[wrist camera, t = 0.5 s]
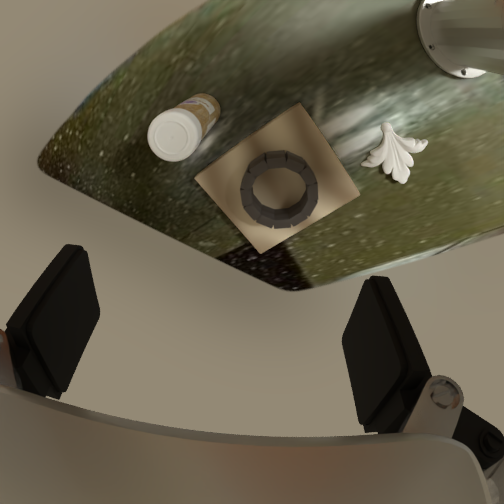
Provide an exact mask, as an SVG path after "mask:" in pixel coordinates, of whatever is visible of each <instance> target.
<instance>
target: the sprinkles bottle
mask: <svg viewBox="0 0 504 504" xmlns="http://www.w3.org/2000/svg"><path fill="white" fill-rule="evenodd" d="M219 116H220V105H219V103H218V102H217V100H216V99H215V98H214V97H212V96H210V95H208V94H203V93H202V94H196V95H194V96H192V97H191V98H190V99H188V100H186V101H184V102H182V103H181V104H179V105H178V106H176V107H175V108H173V109H169V110H167V111H164V112H163V113H161V114H160V115H158V116H157V117H156V118H155V119H154V120H153V121H152V122H151V124H150V126H149V129H148V136H147V137H148V143H149V146H150V148H151V150H152V151H153V152H154V153H155V154H156V155H157V156H158V157H160V158H161V159H163V160H166V161H173V162H175V161H181V160H183V159H185V158H187V157H189V156H190V155H191V154H192V153H193V152H194V151H195V150H196V148H197V147H198V146H199V144H200V141H201V140H202V139H203V138H204V136H205V135H206V134H207V133H208V131H209V130H210V129H211V128H212V126H213V125H214V124H215V123H216V122H217V121H218V119H219Z"/></svg>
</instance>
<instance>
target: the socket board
mask: <svg viewBox="0 0 504 504" xmlns="http://www.w3.org/2000/svg"><path fill="white" fill-rule="evenodd" d="M194 179H195V180H196V181H197V182H198V183H199V184H200V186H201V187H202V188H203V189H204V190H205V191H206V192H207V193H208V195H209V196H210V197H211V198H212V199H213V200H214V201H215V203H216V204H217V205H218V206H219V207H220V208H221V209H222V211H223V212H224V213H225V214H226V215H227V216H228V217H229V219H230V220H231V221H232V222H233V223H234V224H235V225H236V227H237V228H238V229H239V230H240V231H241V232H242V233H243V235H244V236H245V237H246V238H247V239H248V240H249V241H250V243H251V244H252V245H253V246H254V247H255V248H256V249H257V251H258V252H259V253H260V254H261V253H263V252H265V251H266V250H268V249H270V248H271V247H273V246H275V245H277V244H278V243H280V242H282V241H283V240H285V239H287V238H288V237H290V236H292V235H294V234H295V233H297V232H299V231H300V230H302V229H304V228H305V227H307V226H309V225H311V224H312V223H314V222H316V221H317V220H319V219H321V218H322V217H324V216H326V215H327V214H329V213H331V212H333V211H334V210H336V209H338V208H339V207H341V206H343V205H344V204H346V203H348V202H349V201H351V200H353V199H354V198H356V197H358V196H360V193H359V191H358V189H357V188H356V186H355V185H354V183H353V181H352V180H351V178H350V176H349V175H348V173H347V172H346V170H345V168H344V167H343V165H342V164H341V162H340V160H339V159H338V157H337V156H336V154H335V153H334V151H333V150H332V148H331V147H330V145H329V144H328V142H327V141H326V139H325V138H324V136H323V135H322V133H321V132H320V130H319V129H318V127H317V126H316V124H315V123H314V121H313V120H312V119H311V117H310V116H309V114H308V113H307V112H306V110H305V109H304V107H303V106H302V105H301V103H300V102H298V103H297V104H295V105H294V106H292V107H291V108H289V109H288V110H286V111H285V112H283V113H282V114H280V115H279V116H277V117H276V118H274V119H273V120H271V121H270V122H268V123H267V124H265V125H264V126H262V127H261V128H260V129H258V130H257V131H255V132H254V133H252V134H251V135H249V136H248V137H247V138H245V139H244V140H242V141H241V142H240V143H238V144H237V145H235V146H234V147H233V148H231V149H230V150H228V151H227V152H226V153H224V154H223V155H222V156H220V157H219V158H218V159H216V160H215V161H214V162H212V163H211V164H210V165H208V166H207V167H206V168H204V169H203V170H202V171H200V172H199V173H198V174H197V175H196V176H195V178H194Z"/></svg>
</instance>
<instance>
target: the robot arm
mask: <svg viewBox="0 0 504 504" xmlns="http://www.w3.org/2000/svg"><path fill="white" fill-rule="evenodd" d="M425 6H426V7H427V8H426V7H425ZM417 30H418V35H419V38H420V41H421V43H422V45H423V47H424V49H425V51H426V53H427V54H428V55H429V57H430V58H431V59H432V61H433V62H434V63H435V64H436V65H437V66H438V67H440V68H441V69H442V70H444V71H445V72H447V73H449V74H451V75H454V76H457V77H461V78H475V77H479V76H481V75H483V74H484V73H485V72H492V73H496V74H501V75H504V0H422V1H421V3H420V5H419V7H418V11H417ZM429 45H430V48H429ZM461 71H462V72H461ZM99 317H100V307H99V303H98V299H97V295H96V291H95V286H94V282H93V278H92V273H91V269H90V263H89V258H88V253H87V251H85V250H84V249H83V247H82V246H79V245H71V244H66V245H65V246H64V247H63V248H62V249H61V251H60V252H59V253H58V254H57V255H56V257H55V258H54V259H53V260H52V262H51V263H50V264H49V265H48V267H47V268H46V270H45V271H44V272H43V273H42V274H41V276H40V277H39V278H38V280H37V281H36V282H35V284H34V285H33V286H32V288H31V289H30V291H29V292H28V293H27V295H26V296H25V298H24V299H23V300H22V302H21V303H20V304H19V306H18V307H17V309H16V310H15V312H14V313H13V315H12V316H11V318H10V319H9V321H8V322H7V324H6V326H7V329H6V330H5V332H4V331H3V330H1V329H0V504H504V436H503V434H502V433H501V432H500V430H498V429H497V428H496V427H495V426H493V425H492V424H490V423H489V422H487V421H485V420H484V419H482V418H481V417H479V416H478V415H476V414H475V413H473V412H472V411H470V410H469V409H467V408H466V407H464V406H463V402H464V397H463V392H462V390H461V388H460V387H459V385H458V384H457V383H456V382H455V381H453V380H452V379H451V378H449V377H446V376H441V375H437V376H433V377H432V375H431V372H430V369H429V366H428V364H427V361H426V359H425V356H424V354H423V352H422V349H421V347H420V344H419V342H418V340H417V338H416V335H415V333H414V331H413V328H412V326H411V324H410V322H409V319H408V317H407V315H406V313H405V311H404V309H403V306H402V304H401V302H400V300H399V298H398V296H397V294H396V292H395V289H394V287H393V285H392V283H391V281H390V279H389V278H388V277H383V276H371V277H370V278H369V280H368V279H367V280H365V281H364V284H363V286H362V289H361V291H360V294H359V297H358V299H357V301H356V304H355V307H354V309H353V312H352V314H351V317H350V319H349V321H348V324H347V326H346V328H345V331H344V333H343V337H342V345H343V350H344V355H345V359H346V364H347V368H348V372H349V377H350V382H351V387H352V391H353V396H354V401H355V406H356V411H357V416H358V421H359V423H360V424H361V425H363V426H364V430H365V433H369V432H378V434H374V435H359V436H337V437H336V436H334V437H269V436H250V435H234V434H222V433H213V432H204V431H195V430H188V429H180V428H174V427H168V426H161V425H156V424H150V423H145V422H139V421H134V420H129V419H125V418H120V417H116V416H111V415H107V414H102V413H99V412H95V411H91V410H87V409H83V408H80V407H76V406H73V405H69V404H65V403H62V402H58V401H55V400H52V399H48V398H45V397H46V396H49V397H52V398H55V399H58V400H59V399H60V397H61V394H62V392H66V391H67V389H68V386H69V384H70V382H71V379H72V377H73V374H74V372H75V370H76V367H77V365H78V363H79V361H80V358H81V356H82V354H83V352H84V349H85V347H86V345H87V343H88V341H89V339H90V336H91V334H92V332H93V330H94V328H95V326H96V324H97V322H98V320H99Z"/></svg>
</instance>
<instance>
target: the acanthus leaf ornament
mask: <svg viewBox="0 0 504 504" xmlns="http://www.w3.org/2000/svg"><path fill="white" fill-rule="evenodd" d="M381 130H382V131H383V133H384V135H383V141H382V143H381V144H380V145H379V146H378V147H377V148H375V149H373V150H371V151H370V154H371V155H370V156H368V157H367V160H366V161H363V162H362V163H361V166H366V167H375V166H378V165H379V164H381V163H382V162H383V163H382V168H383V171H384V172H385V173H386V174H390V173H391V171H392V178H393V179H394V180H396V181H399V182H400V183H402V184H404V183H406V181H407V179H408V177H409V175H410V170H409V169H408V167H407V166H409V167H412V166H413V164H414V162H413V159H412V157H411V155H410V154H409V153H418V152H421V151H422V150H423V149H424V148H425V147H426V145H427V144H428V141H427V140H426V139H423V140H421V141H420V140H419V139H415V140H414V139H413V138H411V137H410V138H402V137H399V136H398V135H396V134H395V133H394V132H393V130H392V126H391V124H390V123H388V122H385V123H383V124H382V125H381ZM408 152H409V153H408Z"/></svg>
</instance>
